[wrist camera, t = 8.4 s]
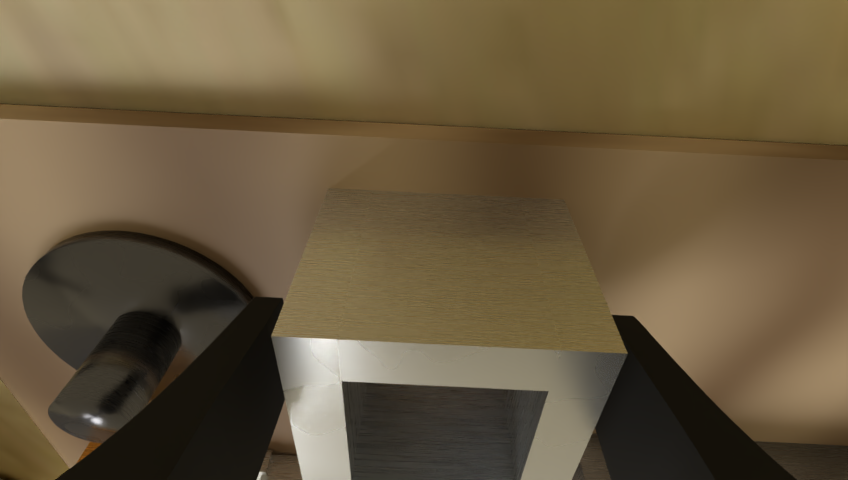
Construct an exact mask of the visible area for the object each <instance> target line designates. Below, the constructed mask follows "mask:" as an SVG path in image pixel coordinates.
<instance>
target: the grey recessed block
mask: <svg viewBox="0 0 848 480" xmlns="http://www.w3.org/2000/svg"><path fill="white" fill-rule="evenodd" d="M271 338H272V342H273V347H274V351H275V356H276V361H277V365H278V370H279V374H280V379H281V383H282V388H283V392H284V397H285V402H286V406H287V411H288V415H289V420H290V424H291V429H292V433H293V438H294V442H295V447H296V452H297V456H298V461H299V465H300V470H301V474H302V479H303V480H572V478H573V476H574V473H575V471H576V469H577V467H578V464H579V462H580V460H581V458H582V455H583V453H584V451H585V449H586V446H587V444H588V442H589V440H590V437H591V435H592V433H593V431H594V428H595V426H596V424H597V422H598V419H599V417H600V415H601V413H602V410H603V408H604V406H605V404H606V401H607V399H608V397H609V395H610V392H611V390H612V388H613V386H614V383H615V381H616V379H617V377H618V374H619V372H620V370H621V368H622V365H623V363H624V361H625V358H626V356H627V354H628V353H627V351H626V348H625V346H624V343H623V341H622V339H621V336H620V334H619V331H618V329H617V327H616V324H615V322H614V319H613V317H612V314H611V312H610V310H609V307H608V305H607V302H606V300H605V297H604V295H603V293H602V290H601V288H600V285H599V283H598V281H597V278H596V276H595V273H594V271H593V268H592V266H591V264H590V261H589V259H588V256H587V254H586V251H585V249H584V247H583V244H582V242H581V239H580V237H579V234H578V232H577V230H576V227H575V225H574V222H573V220H572V218H571V215H570V213H569V210H568V208H567V205H566V203H565V201H564V200H561V199H541V198H520V197H500V196H480V195H459V194H439V193H418V192H398V191H378V190H357V189H337V188H328V190H327V193H326V196H325V198H324V201H323V203H322V206H321V209H320V211H319V214H318V216H317V219H316V221H315V224H314V227H313V229H312V232H311V234H310V237H309V240H308V242H307V245H306V247H305V250H304V253H303V255H302V258H301V260H300V263H299V265H298V268H297V271H296V273H295V276H294V278H293V281H292V284H291V286H290V289H289V291H288V294H287V297H286V299H285V302H284V304H283V307H282V309H281V312H280V315H279V317H278V320H277V322H276V325H275V328H274V330H273V333H272V335H271Z"/></svg>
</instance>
